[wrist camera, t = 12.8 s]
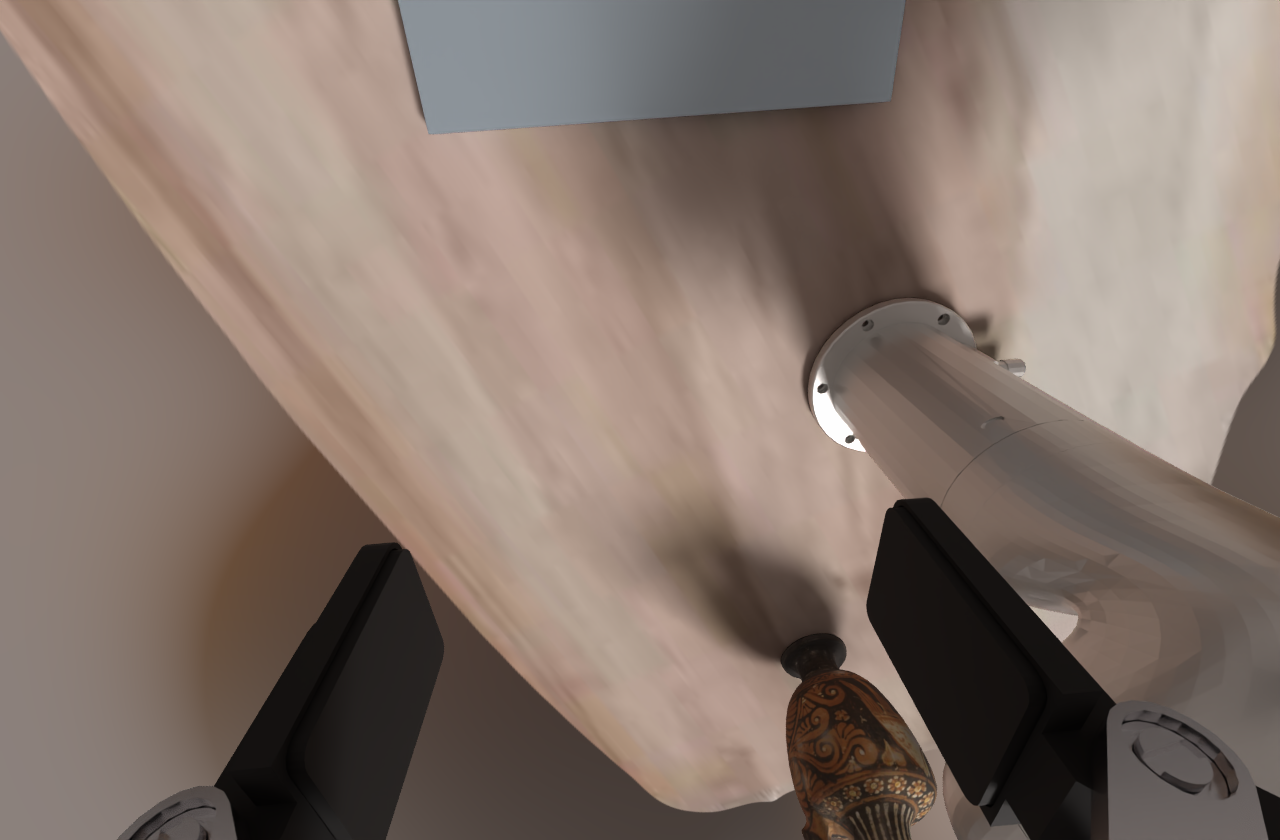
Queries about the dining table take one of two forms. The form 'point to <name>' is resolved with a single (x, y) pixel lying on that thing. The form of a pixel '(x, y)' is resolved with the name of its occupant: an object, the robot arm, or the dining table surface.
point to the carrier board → (643, 58)
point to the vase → (850, 751)
